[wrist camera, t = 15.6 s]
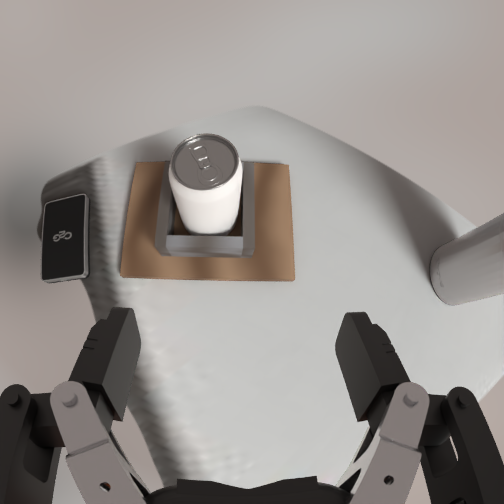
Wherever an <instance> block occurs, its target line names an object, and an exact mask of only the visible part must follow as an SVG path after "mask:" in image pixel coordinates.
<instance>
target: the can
mask: <svg viewBox="0 0 504 504" xmlns="http://www.w3.org/2000/svg"><path fill="white" fill-rule="evenodd" d="M242 173H243V171H242V163H241V160H240V158H239V156H238V153H237V150H236V148H235V147H234V145H233V144H232V143H231V142H230V141H228V140H227V139H225V138H223V137H221V136H219V135H215V134H198V135H194V136H192V137H189V138H187V139H185V140H184V141H183V142H181V143H180V144H179V145H178V146H177V147H176V149H175V150H174V152H173V154H172V157H171V162H170V167H169V181H170V185H171V188H172V192H173V195H174V198H175V201H176V204H177V207H178V210H179V213H180V216H181V219H182V222H183V224H184V226H185V228H186V230H187V231H188V232H189V234H191V235H192V236H226V235H228V234H229V233H230V232H231V231H232V230H233V228H234V226H235V224H236V221H237V216H238V209H239V201H240V193H241V184H242Z"/></svg>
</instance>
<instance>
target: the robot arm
mask: <svg viewBox="0 0 504 504" xmlns="http://www.w3.org/2000/svg"><path fill="white" fill-rule="evenodd" d="M430 276H431V281H432V285H433V288H434V290H435V292H436V294H437V295H438V296H439V298H440V299H441V300H442V301H443V302H445V303H447V304H448V305H459V304H463V303H468V302H472V301H476V300H481V299H485V298H489V297H492V296H496V295H500V294H504V213H503V214H501V215H499V216H498V217H496V218H494V219H493V220H491V221H489V222H487V223H485V224H484V225H481V226H480V227H478V228H476V229H474V230H472V231H470V232H468V233H466V234H464V235H463V236H461V237H459V238H457V239H455V240H453V241H451V242H449V243H447V244H445V245H443V246H441V247H439V248H438V249H437V250H436V251H435V253H434V255H433V256H432V260H431V265H430ZM140 349H141V339H140V334H139V330H138V326H137V322H136V318H135V313H134V310H133V309H132V308H122V307H113V308H112V309H111V312H110V314H109V316H108V318H107V320H104V319H100V320H99V321H98V322H97V323H96V324H95V325H94V326H93V327H92V328H91V330H90V332H89V335H88V337H87V340H86V341H85V343H84V346H83V349H82V350H81V352H80V355H79V357H78V359H77V362H76V364H75V366H74V368H73V371H72V373H71V376H70V378H69V380H68V381H67V382H63V383H61V384H59V385H58V386H56V387H55V388H54V390H53V391H52V393H42V394H30V392H29V391H28V390H27V388H25V387H24V386H22V385H19V384H15V385H11V386H9V387H7V388H6V389H5V390H4V391H3V392H2V394H1V396H0V504H52V498H53V491H54V485H55V479H56V474H57V468H58V463H59V458H60V453H61V448H62V447H66V449H67V452H68V455H66V462H67V464H68V467H69V469H70V471H71V474H72V476H73V478H74V480H75V482H76V484H77V487H78V489H79V490H80V493H81V495H82V497H83V498H84V500H85V502H86V504H405V501H406V499H407V496H408V494H409V491H410V489H411V486H412V483H413V480H414V478H415V475H416V472H417V469H418V466H419V463H420V462H421V465H422V468H423V473H424V476H425V480H426V484H427V488H428V492H429V496H430V500H431V504H504V465H503V461H502V459H501V456H500V454H499V451H498V448H497V446H496V443H495V441H494V438H493V436H492V434H491V431H490V429H489V426H488V424H487V422H486V419H485V417H484V415H483V413H482V410H481V408H480V406H479V404H478V402H477V400H476V398H475V396H474V394H473V393H472V392H471V391H470V390H468V389H466V388H464V387H455V388H453V389H452V390H451V391H450V392H449V393H448V394H447V396H446V395H432V394H428V393H427V392H426V390H425V389H424V388H423V387H422V386H420V385H418V384H416V383H413V382H411V381H410V379H409V377H408V375H407V373H406V371H405V369H404V367H403V365H402V363H401V361H400V359H399V357H398V355H397V353H395V349H394V347H393V345H392V344H391V341H390V339H389V337H388V336H387V334H386V332H385V331H384V330H383V329H382V328H381V327H379V326H378V325H377V324H372V323H371V321H370V319H369V317H368V315H367V313H366V312H349V313H346V314H345V316H344V318H343V321H342V324H341V327H340V330H339V333H338V336H337V339H336V344H335V350H336V356H337V359H338V362H339V365H340V368H341V371H342V374H343V377H344V380H345V383H346V386H347V389H348V392H349V396H350V399H351V402H352V405H353V408H354V412H355V415H356V418H357V421H358V422H360V421H366V420H368V422H369V427H368V429H367V430H366V433H365V435H364V437H363V439H362V441H361V443H360V445H359V447H358V449H357V451H356V453H355V455H354V457H353V459H352V461H351V463H350V465H349V467H348V468H347V470H346V471H345V473H344V474H343V475H342V477H341V478H340V480H339V481H338V483H337V484H336V486H333V485H330V484H325V483H319V482H317V476H312V477H304V478H295V479H284V480H281V481H277V482H274V483H271V484H267V485H263V486H260V487H256V488H252V489H243V488H239V487H234V486H229V485H225V484H221V483H217V482H213V481H198V480H185V479H177V485H174V486H169V487H165V488H162V489H159V490H156V491H154V492H152V493H151V492H150V491H149V489H148V488H147V487H146V485H145V484H144V482H143V481H142V480H141V478H140V477H139V475H138V474H137V473H136V471H135V470H134V468H133V467H132V465H131V464H130V462H129V461H128V459H127V457H126V455H125V454H124V452H123V450H122V448H121V447H120V445H119V443H118V441H117V439H116V438H115V436H114V434H113V432H112V430H111V425H112V421H113V420H116V421H123V416H124V412H125V408H126V404H127V400H128V396H129V392H130V388H131V384H132V380H133V376H134V372H135V369H136V365H137V361H138V358H139V354H140ZM450 436H451V437H452V440H453V443H454V445H455V448H456V451H457V454H458V461H457V458H456V455H455V452H454V449H453V446H452V444H451V441H450V438H449V437H450Z"/></svg>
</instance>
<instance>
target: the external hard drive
mask: <svg viewBox="0 0 504 504" xmlns="http://www.w3.org/2000/svg"><path fill="white" fill-rule="evenodd" d="M89 216H90V200H89V198H88V197H87V196H86V195H85V194H79V195H75V196H71V197H66V198H62V199H58V200H54V201H50V202H47V203H46V204H45V207H44V216H43V228H42V244H41V280H42V281H44V282H47V283H56V282H63V281H69V280H76V279H84V278H87V277H88V276H89V274H90V268H89Z"/></svg>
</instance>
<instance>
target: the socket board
mask: <svg viewBox="0 0 504 504" xmlns="http://www.w3.org/2000/svg"><path fill="white" fill-rule="evenodd" d="M170 162H171V161H165V162H137V163H136V168H135V173H134V178H133V183H132V189H131V194H130V200H129V206H128V213H127V220H126V227H125V234H124V242H123V251H122V260H121V270H120V276H122V277H123V278H147V279H177V280H218V281H294V280H295V266H294V243H293V224H292V206H291V191H290V176H289V165H284V164H268V163H254V162H241V163H242V171H243V173H242V184H241V193H240V201H239V209H238V216H237V221H236V224H235V226H234V228H233V230H232V231H231V232H230V233H229V234H228V235H226V236H192V235H191V234H189V232H188V231H187V230H186V228H185V226H184V224H183V222H182V219H181V216H180V213H179V210H178V207H177V204H176V201H175V198H174V195H173V192H172V188H171V185H170V181H169V167H170Z"/></svg>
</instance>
